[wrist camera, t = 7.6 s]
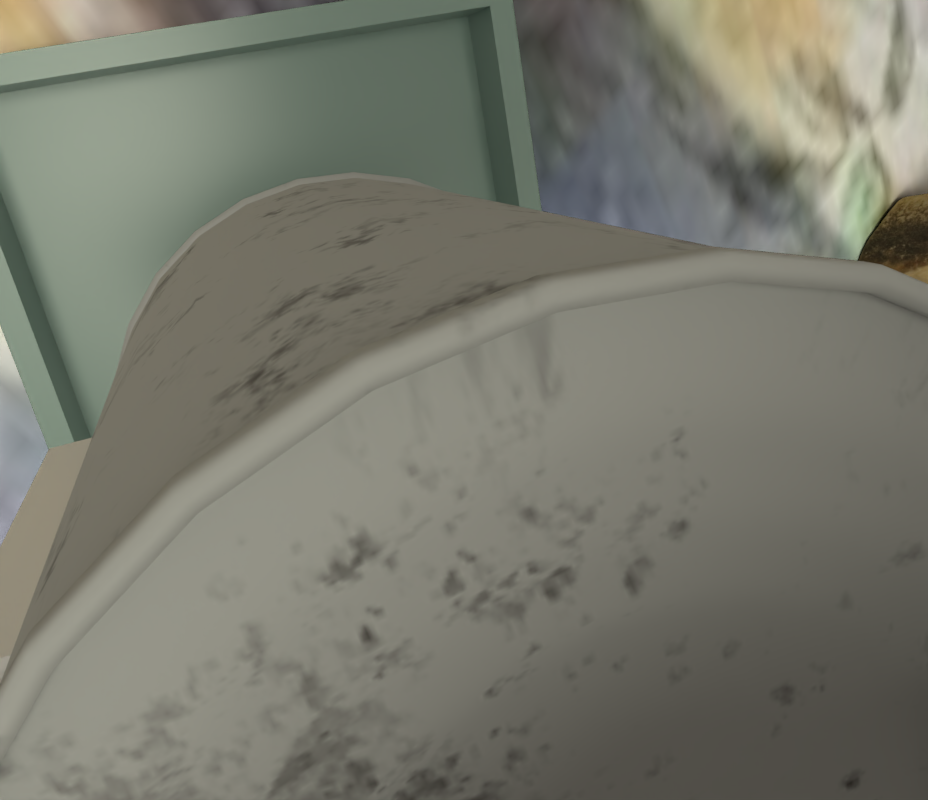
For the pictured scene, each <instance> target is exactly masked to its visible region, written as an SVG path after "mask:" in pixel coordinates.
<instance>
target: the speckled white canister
mask: <svg viewBox="0 0 928 800" xmlns="http://www.w3.org/2000/svg"><path fill="white" fill-rule="evenodd" d="M0 800H928V284H927V283H925V282H922V281H920V280H917V279H915V278H913V277H910V276H908V275H905V274H903V273H901V272H898V271H896V270H893V269H891V268H889V267H886V266H884V265H881V264H875V263H870V262H864V261H855V260H845V259H834V258H824V257H814V256H804V255H793V254H783V253H773V252H763V251H752V250H742V249H732V248H722V247H712V246H707V245H703V244H698V243H693V242H688V241H683V240H678V239H674V238H669V237H664V236H659V235H654V234H649V233H645V232H640V231H635V230H630V229H625V228H620V227H616V226H611V225H606V224H601V223H596V222H591V221H587V220H582V219H577V218H572V217H567V216H563V215H558V214H553V213H548V212H543V211H538V210H534V209H529V208H524V207H519V206H514V205H509V204H505V203H500V202H495V201H490V200H485V199H480V198H476V197H471V196H466V195H461V194H456V193H451V192H447V191H442V190H439V189H436V188H434V187H431V186H428V185H425V184H423V183H420V182H417V181H414V180H412V179H409V178H401V177H392V176H383V175H374V174H365V173H356V172H350V173H342V174H334V175H325V176H317V177H309V178H301V179H296V180H293V181H290V182H288V183H285V184H282V185H280V186H277V187H274V188H271V189H269V190H266V191H263V192H261V193H258V194H255V195H253V196H250V197H247V198H244V199H242V200H241V201H239V202H238V203H236V204H235V205H233V206H232V207H230V208H229V209H227V210H226V211H224V212H223V213H221V214H220V215H218V216H217V217H216V218H214V219H213V220H211V221H210V222H208V223H207V224H205V225H204V226H202V227H201V228H199V229H198V230H196V231H195V232H194V233H193V234H192V235H191V236H190V237H189V238H188V239H187V240H186V242H185V243H184V244H183V245H182V246H181V247H180V248H179V249H178V250H177V251H176V252H175V254H174V255H173V256H172V257H171V258H170V259H169V260H168V261H167V262H166V263H165V264H164V266H163V267H162V268H161V269H160V270H159V271H158V272H157V273H156V275H155V276H154V278H153V280H152V282H151V284H150V286H149V287H148V289H147V291H146V293H145V295H144V297H143V298H142V300H141V302H140V304H139V306H138V308H137V309H136V311H135V313H134V315H133V317H132V319H131V320H130V322H129V324H128V327H127V331H126V335H125V339H124V343H123V347H122V351H121V355H120V359H119V363H118V367H117V370H116V374H115V377H114V380H113V383H112V386H111V388H110V391H109V394H108V396H107V399H106V402H105V404H104V407H103V410H102V412H101V415H100V418H99V420H98V423H97V426H96V428H95V431H94V434H93V436H92V439H91V442H90V444H89V447H88V450H87V452H86V455H85V458H84V460H83V463H82V466H81V469H80V471H79V474H78V477H77V479H76V482H75V485H74V487H73V490H72V493H71V495H70V498H69V501H68V503H67V506H66V509H65V511H64V514H63V517H62V519H61V522H60V525H59V527H58V530H57V533H56V535H55V538H54V541H53V544H52V546H51V549H50V552H49V554H48V557H47V560H46V562H45V565H44V568H43V570H42V573H41V576H40V578H39V581H38V584H37V586H36V589H35V592H34V594H33V597H32V600H31V602H30V605H29V608H28V610H27V613H26V616H25V618H24V621H23V624H22V627H21V629H20V632H19V635H18V637H17V640H16V643H15V645H14V648H13V651H12V653H11V656H10V659H9V661H8V664H7V667H6V669H5V672H4V675H3V677H2V680H1V683H0Z"/></svg>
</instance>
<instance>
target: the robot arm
mask: <svg viewBox="0 0 928 800" xmlns="http://www.w3.org/2000/svg"><path fill="white" fill-rule="evenodd" d="M91 439H92V438H88V439H84V440H80V441H77V442H73V443H69V444H65V445H61V446H57V447H53V448H49V450H48V452H47V454H46V456H45V458H44V460H43V462H42V464H41V466H40V468H39V470H38V472H37V474H36V476H35V478H34V480H33V482H32V484H31V486H30V488H29V491H28V493H27V495H26V497H25V499H24V501H23V503H22V505H21V507H20V509H19V511H18V513H17V515H16V517H15V519H14V521H13V523H12V525H11V527H10V529H9V531H8V533H7V535H6V537H5V539H4V541H3V543H2V545H1V547H0V683H1V680H2V677H3V675H4V672H5V669H6V667H7V664H8V661H9V659H10V656H11V653H12V651H13V648H14V645H15V643H16V640H17V637H18V635H19V632H20V629H21V627H22V624H23V621H24V618H25V616H26V613H27V610H28V608H29V605H30V602H31V600H32V597H33V594H34V592H35V589H36V586H37V584H38V581H39V578H40V576H41V573H42V570H43V568H44V565H45V562H46V560H47V557H48V554H49V552H50V549H51V546H52V544H53V541H54V538H55V535H56V533H57V530H58V527H59V525H60V522H61V519H62V517H63V514H64V511H65V509H66V506H67V503H68V501H69V498H70V495H71V493H72V490H73V487H74V485H75V482H76V479H77V477H78V474H79V471H80V469H81V466H82V463H83V460H84V458H85V455H86V452H87V450H88V447H89V444H90V442H91Z"/></svg>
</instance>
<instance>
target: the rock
mask: <svg viewBox="0 0 928 800" xmlns="http://www.w3.org/2000/svg"><path fill="white" fill-rule="evenodd" d="M859 261H864V262H870V263H875V264H881V265H884V266H886V267H889V268H891V269H893V270H896V271H898V272H901V273H903V274H905V275H908V276H910V277H913V278H915V279H917V280H920V281H922V282H925V283H927V284H928V194H922V195H916V196H908V197H904V198H902V199H900V200H899V201H897V203H896V204H895V205H894V207H893V208H892V209H891V210H890V211H889V212H888V214H887V215H886V217H885V218H884V219H883V220H882V222H881V223H880V225H879V226H878V227H877V229H876V230H875V231H874V232H873V234H872V235H871V237H870V238H869V240H868V241H867V243H866V245H865V247H864V249H863V251H862V254H861V256H860V259H859Z"/></svg>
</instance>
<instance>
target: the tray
mask: <svg viewBox="0 0 928 800" xmlns="http://www.w3.org/2000/svg"><path fill="white" fill-rule="evenodd" d="M350 172H356V173H365V174H374V175H383V176H392V177H401V178H409V179H412V180H414V181H417V182H420V183H423V184H425V185H428V186H431V187H434V188H436V189H439V190H442V191H447V192H451V193H456V194H461V195H466V196H471V197H476V198H480V199H485V200H490V201H495V202H500V203H505V204H509V205H514V206H519V207H524V208H529V209H534V210H538V211H542V210H541V203H540V195H539V188H538V181H537V174H536V166H535V159H534V152H533V144H532V137H531V130H530V123H529V115H528V108H527V101H526V94H525V86H524V79H523V72H522V65H521V57H520V50H519V43H518V36H517V28H516V21H515V14H514V7H513V0H345V1H338V2H332V3H325V4H319V5H313V6H306V7H300V8H293V9H287V10H280V11H274V12H267V13H261V14H254V15H248V16H241V17H235V18H229V19H222V20H216V21H209V22H203V23H196V24H190V25H183V26H177V27H170V28H164V29H158V30H151V31H145V32H138V33H132V34H125V35H119V36H112V37H106V38H99V39H93V40H86V41H80V42H74V43H67V44H61V45H54V46H48V47H41V48H35V49H28V50H22V51H15V52H9V53H3V54H0V326H1V328H2V331H3V333H4V336H5V338H6V341H7V344H8V346H9V349H10V351H11V354H12V356H13V359H14V361H15V364H16V367H17V369H18V372H19V374H20V377H21V379H22V382H23V385H24V387H25V390H26V392H27V395H28V397H29V400H30V403H31V405H32V408H33V410H34V413H35V415H36V418H37V420H38V423H39V426H40V428H41V431H42V433H43V436H44V438H45V441H46V444H47V446H48V449H49V448H53V447H57V446H61V445H65V444H69V443H73V442H77V441H80V440H84V439H88V438H92V436H93V434H94V431H95V428H96V426H97V423H98V420H99V418H100V415H101V412H102V410H103V407H104V404H105V402H106V399H107V396H108V394H109V391H110V388H111V386H112V383H113V380H114V377H115V374H116V370H117V367H118V363H119V359H120V355H121V351H122V347H123V343H124V339H125V335H126V331H127V327H128V324H129V322H130V320H131V319H132V317H133V315H134V313H135V311H136V309H137V308H138V306H139V304H140V302H141V300H142V298H143V297H144V295H145V293H146V291H147V289H148V287H149V286H150V284H151V282H152V280H153V278H154V276H155V275H156V273H157V272H158V271H159V270H160V269H161V268H162V267H163V266H164V264H165V263H166V262H167V261H168V260H169V259H170V258H171V257H172V256H173V255H174V254H175V252H176V251H177V250H178V249H179V248H180V247H181V246H182V245H183V244H184V243H185V242H186V240H187V239H188V238H189V237H190V236H191V235H192V234H193V233H194V232H195V231H196V230H198V229H199V228H201V227H202V226H204V225H205V224H207V223H208V222H210V221H211V220H213V219H214V218H216V217H217V216H218V215H220V214H221V213H223V212H224V211H226V210H227V209H229V208H230V207H232V206H233V205H235V204H236V203H238V202H239V201H241V200H242V199H244V198H247V197H250V196H253V195H255V194H258V193H261V192H263V191H266V190H269V189H271V188H274V187H277V186H280V185H282V184H285V183H288V182H290V181H293V180H296V179H301V178H309V177H317V176H325V175H334V174H342V173H350Z"/></svg>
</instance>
